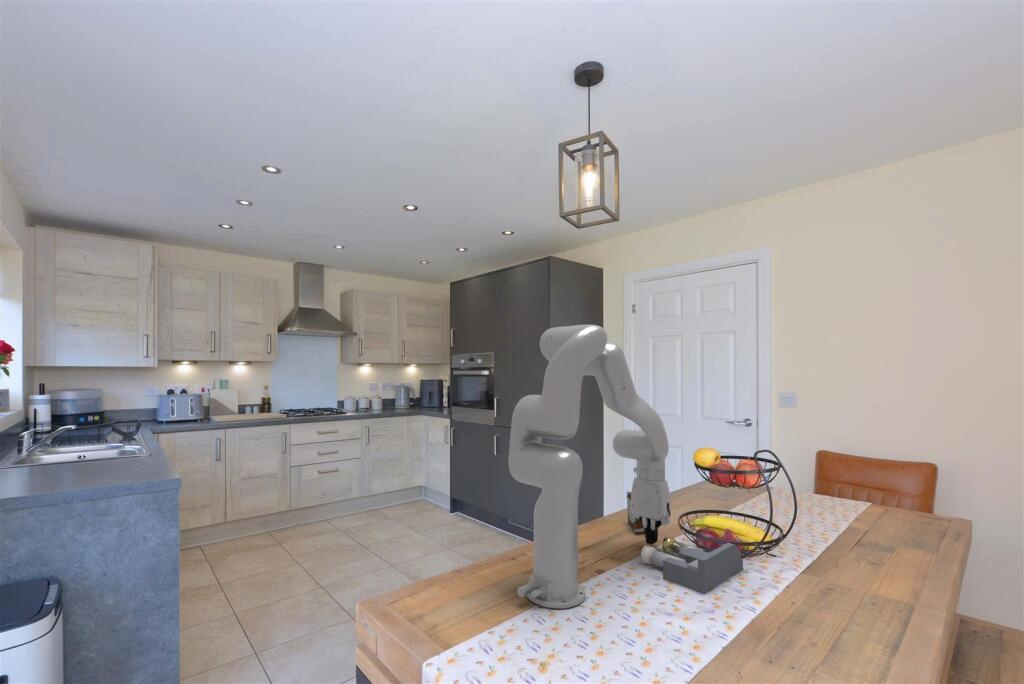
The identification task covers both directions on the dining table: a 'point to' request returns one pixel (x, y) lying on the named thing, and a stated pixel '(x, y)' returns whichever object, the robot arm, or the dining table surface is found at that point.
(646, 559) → the light grey capped cylinder
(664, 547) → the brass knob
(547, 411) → the robot arm
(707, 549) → the mount
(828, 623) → the dining table surface
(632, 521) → the food container
